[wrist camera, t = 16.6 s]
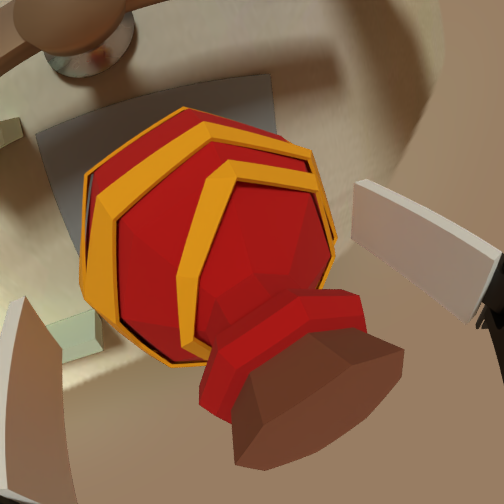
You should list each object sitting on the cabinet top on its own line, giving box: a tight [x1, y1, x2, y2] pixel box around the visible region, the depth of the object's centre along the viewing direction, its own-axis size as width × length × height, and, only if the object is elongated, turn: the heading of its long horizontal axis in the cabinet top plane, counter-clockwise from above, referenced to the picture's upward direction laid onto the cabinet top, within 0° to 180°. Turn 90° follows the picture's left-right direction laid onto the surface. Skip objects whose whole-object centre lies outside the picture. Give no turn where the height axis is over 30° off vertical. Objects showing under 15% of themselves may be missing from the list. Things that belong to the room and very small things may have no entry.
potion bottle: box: [79, 106, 404, 471], centre depth 11 cm, size 10×10×15 cm
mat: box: [35, 74, 277, 257], centre depth 17 cm, size 14×12×1 cm
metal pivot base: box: [44, 11, 134, 78], centre depth 9 cm, size 5×5×4 cm
